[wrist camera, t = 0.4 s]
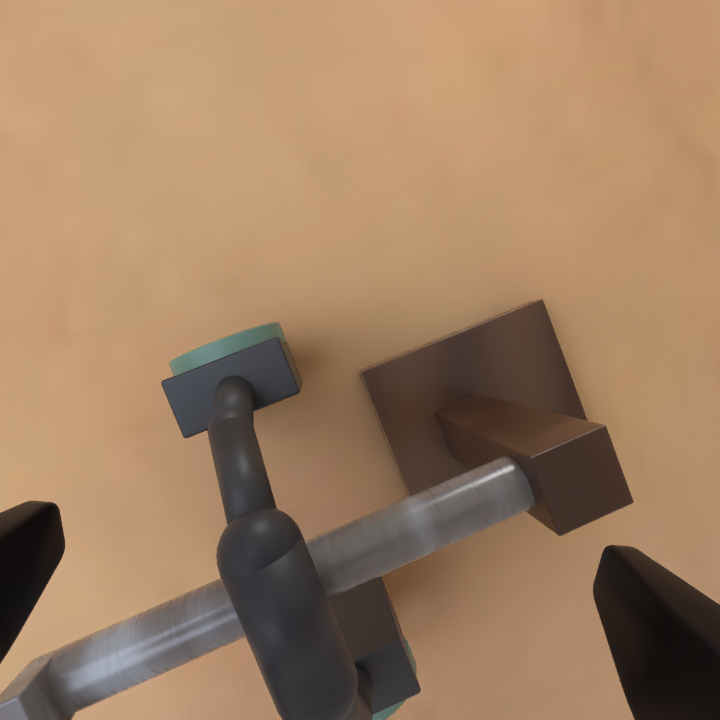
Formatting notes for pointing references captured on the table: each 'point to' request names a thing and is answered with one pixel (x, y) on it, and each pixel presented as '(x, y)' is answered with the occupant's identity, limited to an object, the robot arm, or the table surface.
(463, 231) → the table surface
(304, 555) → the headphones
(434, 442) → the hook stand
